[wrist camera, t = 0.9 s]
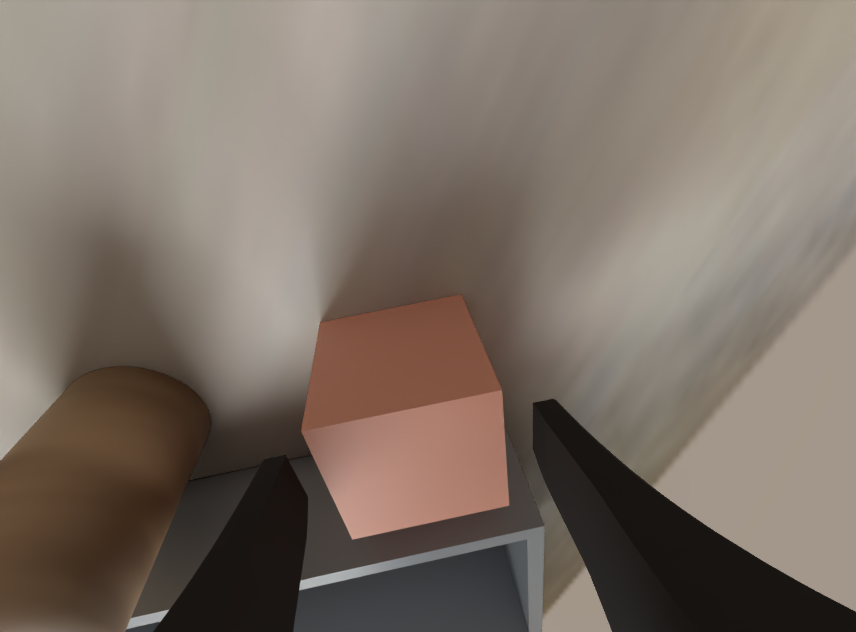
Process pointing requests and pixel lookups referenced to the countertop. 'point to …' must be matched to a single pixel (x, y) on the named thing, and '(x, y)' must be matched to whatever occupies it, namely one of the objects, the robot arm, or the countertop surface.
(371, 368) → the cube
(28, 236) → the countertop surface
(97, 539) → the cylinder
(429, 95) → the countertop surface
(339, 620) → the box
